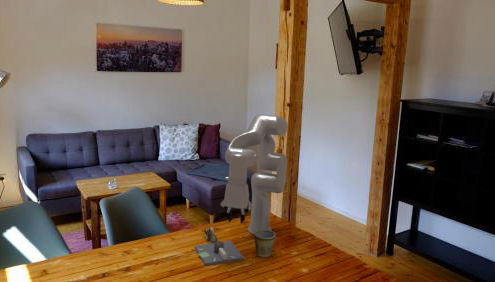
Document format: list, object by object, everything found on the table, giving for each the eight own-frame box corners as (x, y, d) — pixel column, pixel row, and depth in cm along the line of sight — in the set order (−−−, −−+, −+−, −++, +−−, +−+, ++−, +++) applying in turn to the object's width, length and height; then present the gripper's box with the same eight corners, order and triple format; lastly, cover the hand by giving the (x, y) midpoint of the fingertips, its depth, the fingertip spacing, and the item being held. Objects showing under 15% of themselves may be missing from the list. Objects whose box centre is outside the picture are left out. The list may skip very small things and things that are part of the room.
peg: (212, 249, 189) (212, 241, 188) (221, 248, 190) (221, 240, 190) (220, 260, 178) (220, 252, 178) (229, 259, 180) (230, 251, 179)
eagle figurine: (196, 236, 203) (204, 240, 195) (203, 223, 205) (211, 226, 197) (208, 242, 206) (217, 246, 199) (215, 229, 208) (223, 232, 201)
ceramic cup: (271, 260, 183) (272, 239, 182) (250, 256, 187) (251, 235, 185) (278, 248, 196) (279, 229, 194) (258, 245, 199) (259, 225, 197)
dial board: (192, 248, 192) (192, 245, 192) (230, 243, 199) (230, 240, 199) (203, 266, 176) (203, 263, 176) (243, 259, 183) (244, 257, 183)
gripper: (216, 181, 171) (214, 222, 175) (255, 185, 168) (253, 227, 171) (221, 176, 179) (219, 216, 182) (258, 180, 175) (256, 220, 178)
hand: (236, 221), depth 177 cm, fingers open, 4 cm apart
